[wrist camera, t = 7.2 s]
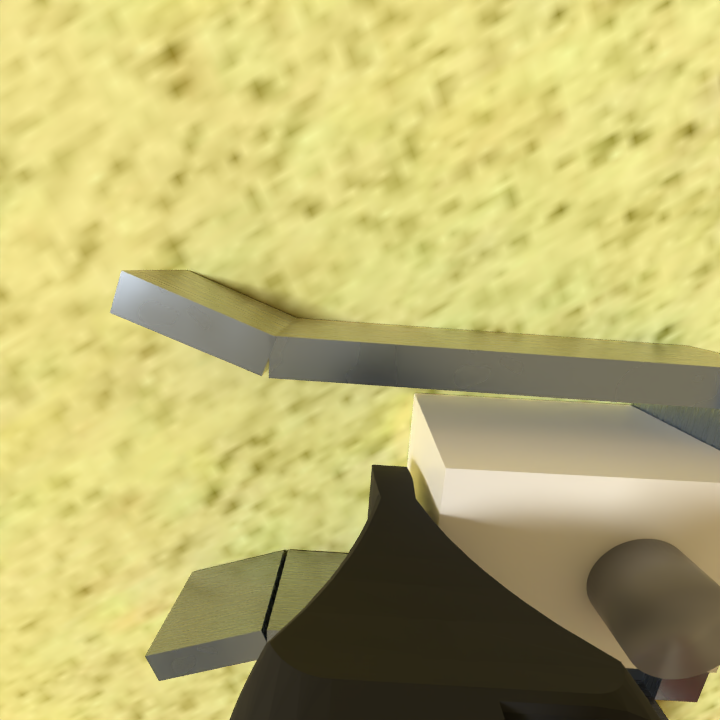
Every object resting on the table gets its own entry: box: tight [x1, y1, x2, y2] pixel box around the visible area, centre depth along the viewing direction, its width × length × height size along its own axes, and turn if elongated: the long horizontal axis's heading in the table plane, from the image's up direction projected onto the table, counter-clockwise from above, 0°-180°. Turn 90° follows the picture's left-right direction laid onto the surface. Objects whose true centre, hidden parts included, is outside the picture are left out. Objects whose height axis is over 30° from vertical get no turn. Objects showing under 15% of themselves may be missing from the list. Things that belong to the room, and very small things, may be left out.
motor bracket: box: [110, 270, 720, 720], centre depth 10 cm, size 16×16×6 cm
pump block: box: [407, 393, 720, 679], centre depth 9 cm, size 5×7×6 cm
